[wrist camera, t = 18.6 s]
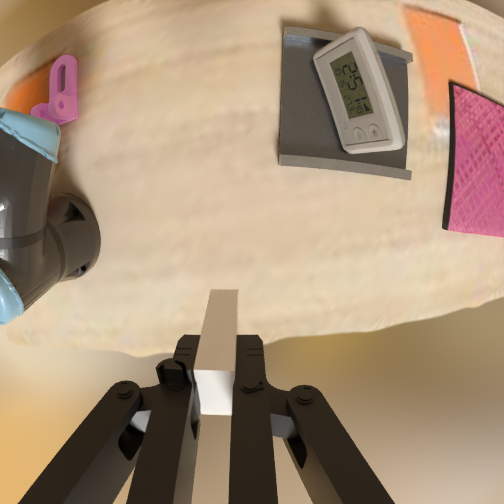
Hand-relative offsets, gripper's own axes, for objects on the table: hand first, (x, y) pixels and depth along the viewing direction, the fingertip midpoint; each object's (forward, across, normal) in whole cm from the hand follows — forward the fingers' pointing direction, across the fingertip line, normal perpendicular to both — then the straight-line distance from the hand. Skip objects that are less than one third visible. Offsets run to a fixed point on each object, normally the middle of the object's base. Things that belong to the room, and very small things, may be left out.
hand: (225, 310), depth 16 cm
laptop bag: (+27, +56, +11) cm, 63 cm away
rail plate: (+27, +16, +17) cm, 36 cm away
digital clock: (+27, +15, +17) cm, 35 cm away
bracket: (+29, -30, +23) cm, 47 cm away
